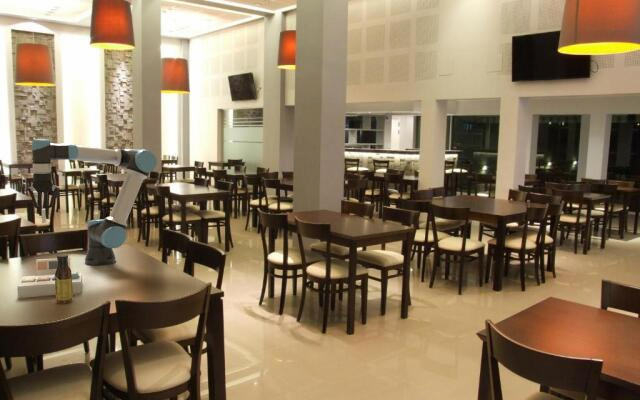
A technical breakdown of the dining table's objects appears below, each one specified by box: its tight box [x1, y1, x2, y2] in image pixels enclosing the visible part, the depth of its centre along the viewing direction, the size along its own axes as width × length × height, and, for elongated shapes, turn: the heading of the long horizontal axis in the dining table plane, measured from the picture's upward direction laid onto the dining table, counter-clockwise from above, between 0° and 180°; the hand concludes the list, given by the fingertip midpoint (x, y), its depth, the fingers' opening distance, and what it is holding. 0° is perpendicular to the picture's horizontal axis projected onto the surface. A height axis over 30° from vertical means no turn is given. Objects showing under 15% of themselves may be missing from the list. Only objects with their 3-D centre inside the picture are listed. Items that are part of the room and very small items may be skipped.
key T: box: [23, 278, 35, 283], centre depth 225 cm, size 4×4×4 cm
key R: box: [71, 271, 80, 279], centre depth 232 cm, size 4×4×4 cm
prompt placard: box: [35, 257, 71, 276], centre depth 240 cm, size 14×1×11 cm, turn 113°
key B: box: [38, 277, 50, 282], centre depth 227 cm, size 4×4×4 cm
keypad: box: [16, 271, 83, 299], centre depth 229 cm, size 24×16×5 cm, turn 113°
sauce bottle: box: [55, 253, 74, 305], centre depth 213 cm, size 7×6×20 cm
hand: (44, 222), depth 245 cm, fingers closed
